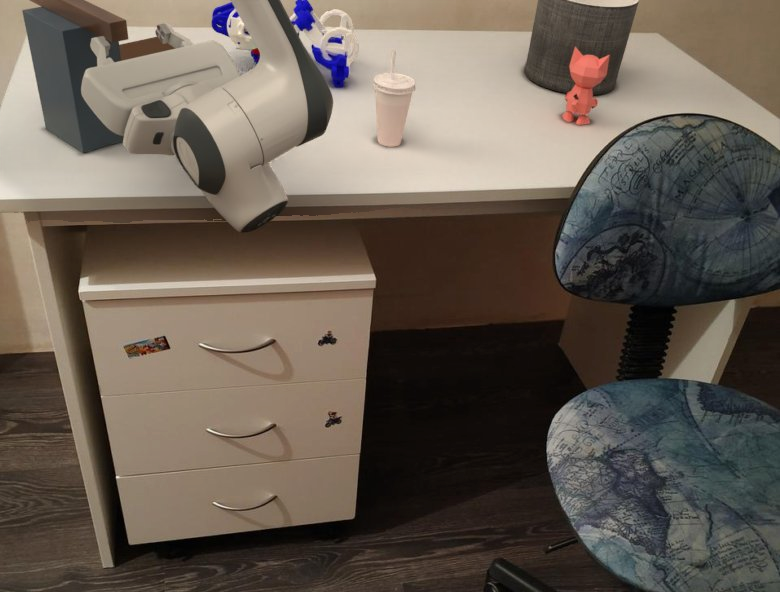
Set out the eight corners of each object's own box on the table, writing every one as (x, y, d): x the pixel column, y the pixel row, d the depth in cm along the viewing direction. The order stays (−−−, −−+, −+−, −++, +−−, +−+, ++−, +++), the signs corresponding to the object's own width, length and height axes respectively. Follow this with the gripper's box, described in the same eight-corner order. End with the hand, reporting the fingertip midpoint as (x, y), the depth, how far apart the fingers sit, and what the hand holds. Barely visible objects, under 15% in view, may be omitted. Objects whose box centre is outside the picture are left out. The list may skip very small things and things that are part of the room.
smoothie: (365, 133, 128) (371, 43, 119) (403, 132, 130) (412, 43, 121) (374, 150, 124) (381, 58, 115) (414, 150, 125) (424, 58, 116)
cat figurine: (599, 119, 142) (618, 49, 134) (589, 132, 137) (608, 61, 129) (561, 109, 144) (577, 39, 136) (549, 121, 139) (566, 50, 131)
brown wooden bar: (112, 42, 102) (109, 23, 101) (29, 0, 111) (25, -18, 110) (128, 39, 104) (126, 19, 102) (45, -2, 113) (42, -21, 111)
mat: (146, 96, 132) (145, 90, 131) (78, 59, 141) (77, 53, 140) (232, 73, 142) (232, 67, 142) (164, 40, 152) (163, 35, 151)
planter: (622, 100, 149) (648, 11, 139) (528, 90, 149) (546, 0, 138) (607, 67, 163) (629, -17, 152) (520, 57, 162) (536, -28, 152)
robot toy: (363, 23, 134) (209, 10, 129) (356, 95, 141) (211, 84, 137) (354, -5, 145) (213, -18, 141) (348, 63, 153) (214, 52, 148)
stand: (83, 153, 115) (62, 31, 104) (45, 129, 119) (21, 9, 108) (131, 138, 120) (116, 20, 109) (93, 116, 124) (75, 0, 113)
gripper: (264, 83, 103) (202, 1, 104) (127, 122, 91) (58, 28, 92) (249, 116, 109) (190, 37, 109) (117, 157, 96) (52, 68, 97)
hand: (129, 33), depth 101 cm, fingers open, 8 cm apart
